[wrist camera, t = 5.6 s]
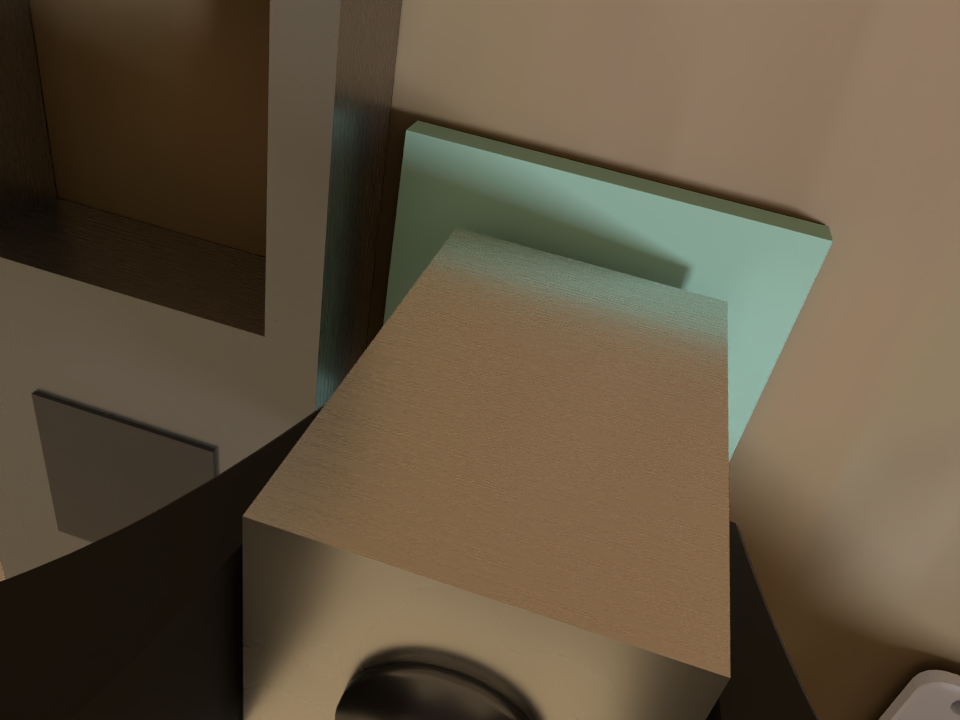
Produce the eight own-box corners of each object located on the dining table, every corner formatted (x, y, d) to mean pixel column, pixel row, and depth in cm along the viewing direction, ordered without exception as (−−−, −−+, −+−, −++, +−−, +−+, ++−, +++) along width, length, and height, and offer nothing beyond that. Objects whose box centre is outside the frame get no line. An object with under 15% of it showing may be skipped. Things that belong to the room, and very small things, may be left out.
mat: (828, 226, 13) (832, 241, 12) (690, 527, 17) (689, 547, 16) (418, 119, 13) (406, 129, 13) (379, 430, 17) (369, 446, 17)
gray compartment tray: (443, -399, 10) (366, -472, 8) (338, 608, 21) (295, 691, 19) (-107, -495, 11) (-311, -582, 9) (73, 517, 22) (3, 587, 20)
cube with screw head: (727, 301, 12) (729, 698, 6) (645, 503, 15) (594, 921, 9) (456, 227, 13) (231, 531, 7) (422, 434, 15) (235, 785, 10)
